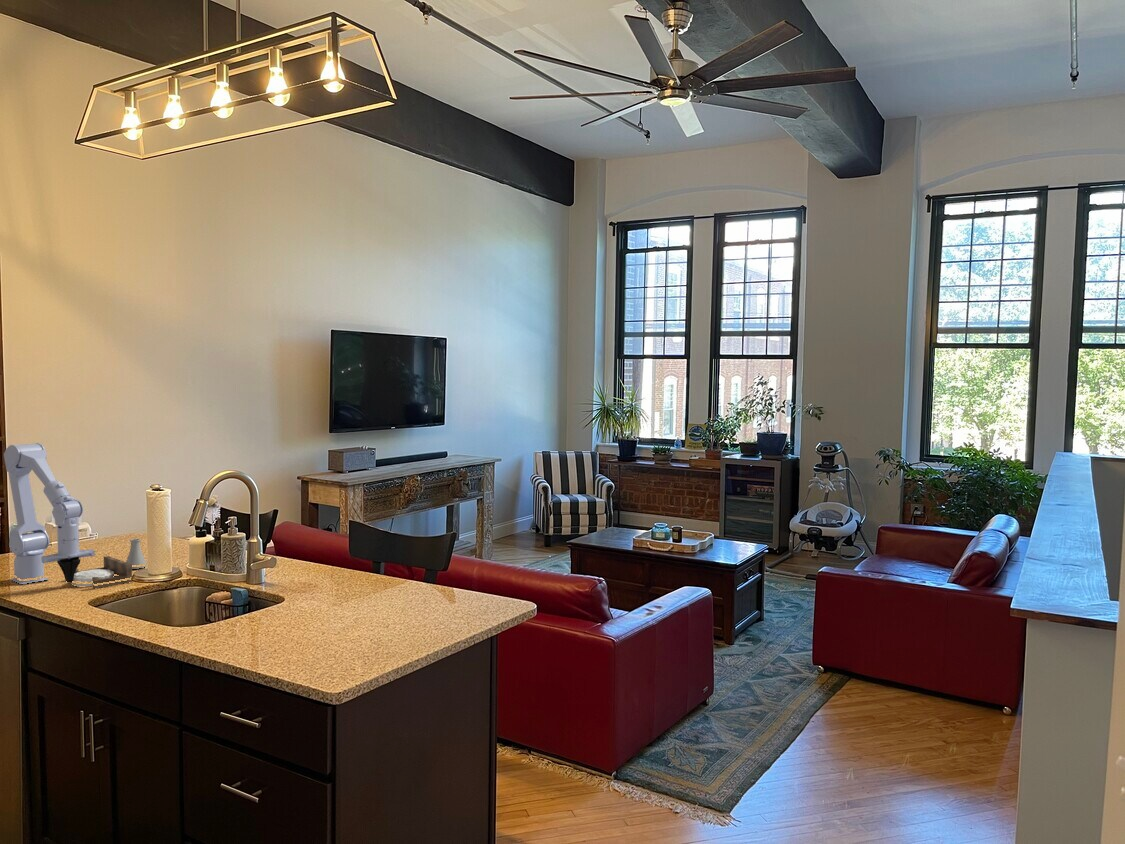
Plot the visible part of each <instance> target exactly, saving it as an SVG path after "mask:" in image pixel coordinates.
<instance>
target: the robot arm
mask: <svg viewBox="0 0 1125 844" xmlns="http://www.w3.org/2000/svg"><path fill="white" fill-rule="evenodd" d="M3 458H4V464H5V465H4V466H5V469H6V470H5V471H6V472H7V473H8V477H9V479H8V480H9V483H10V489H11V494H12V500H13V507H14V513H15V518H16V526H15V527H14V528H12V530H11V531H10V532H9V543H8V546H9V549H10V552H12V554H13V555H14V556H15V557H14V560H13V571H14V572H13V573H14V575H16V576H17V578H20V579H27V578H36V577H40V576H43V575H45V573H44V571H45V569H44V567H45V566H44V565H45V564H48V563H54V562H57V564H58V566H59V567H60V569H61V572H62V573H63V576H64V580H65V582H66V581H67V582H72V581H73V578H74V574H75V572H76V569H78V567H79V565H80V563H81V559H80V558H88V557H96V552H95V551H96V550H95V549H93V548H92V549H85V550H84V549H83V550H82V549H81V550H80V535H79V534H80V533H79V529H80V528H79V518H81V516H82V515H83V510H84V507H83V504H82V503H81V501H80V500H78V499H77V498H75V497H74V496H73V497H72V496H71V494H70V492H69V491H68V490H67V488H66V486H65V485H64V483H63V482H62V481H58V480H56V477H55V475H54V473H53V471H52V469H51V467H50V465H49V464H48V463H49V462H47V458H48V452H47V451H46V448H45V447H44V445H43V444H41V443H40V442H36V443H29V444H16V445H15V444H10V445H8V446H7V448H6V449H5V451H4V452H3ZM31 471H33V473H34V474H35V475H36V477H37V478H38V480H39V481H40V482H41V483H42V484H43V486H44V487H43V490H42V491H43V493H44V495H45V497H46V498H47V499H48V501H49V503H50V505H51V506H52V511H51V515H52V517H53V518H54V524H55V526H56V532H57V535H56V536H57V553H54V554H48V555H44V553H46V550H48V548H49V547H50V546H49V545H50V543H51V541H50V536H49V534H48V533H47V529H46V526H44V525H43V524H41V523H40V522H38V520H37V516H36V515H37V514H36V508H35V505H34V498H33V493H32V492H33V491H32V487H31V481H30V480H31V479H30V473H31ZM13 577H14V576H13ZM17 578H15V577H14V578H11V579H10V580H11V581H12V580H13V581H12V582H14V581H15V582H14V583H16V582H17V583H16V584H18V583H19V585H20V584H23V585H28V584H27V583H29V584H33V583H32V582H35V583H39V582H38V581H42V582H45V581H44V580H48V581H49V580H50V579H49V578H48V577H45V576H44V577H43V578H41V579H37V580H30V581H19V580H17Z"/></svg>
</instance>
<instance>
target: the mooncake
mask: <svg viewBox="0 0 1125 844" xmlns="http://www.w3.org/2000/svg"><path fill="white" fill-rule="evenodd" d="M92 569H93V570H90V569H86V570H87V571H83V570H80V571H81V572H77V573H76V574H74V578H73V581H81V582H85V581H87V582H91V581H92V577H99V579H104V578H110V577H113V576H114V572H113V571H111V570H103V569H96V568H92ZM71 584H73V585H76V586H93V583H92V584H76V583H70V585H71Z"/></svg>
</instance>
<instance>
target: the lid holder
mask: <svg viewBox="0 0 1125 844" xmlns="http://www.w3.org/2000/svg"><path fill="white" fill-rule="evenodd" d="M93 569H94V568H91V569H89V570H93ZM95 569H103V570H111V571H113V572H114V574H117V575H119V576H114V577H110V578H104V579H99V577H92V581H93V583H94V584H97V583H103V582H109V581H115V580H120V579H125V578H130V577H132V578H133V570H132V564H130V563H127V562H126V561H124V560H121V559H118V558H115V557H113V556H109V555H108V556H107V555H106V556H103V566H102V567H97V568H95ZM87 570H88V569H85V570H79V568H77V569H76V572H75V574H76V573H77V572H81V571H87ZM129 582H132V583H133V579H132V580H127V581H121V582H115V583H109V584H103V585H98V586H94V585H93V587H92V589H93V588H99V589H102V588H101V587H104V588H108V587H107V586H110V587H113V586H112V585H116V586H119V585H118V584H121V585H124V584H123V583H127V584H130V583H129Z"/></svg>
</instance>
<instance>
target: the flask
mask: <svg viewBox="0 0 1125 844" xmlns="http://www.w3.org/2000/svg"><path fill="white" fill-rule="evenodd" d="M141 541H142V539H141V538H131V539H129V543H130V548H129V549H130V551H129V553H128V556H127V559H126V561H125V562H127V563H130V564H132V565H140V564H145V563H147V560H146V559H145V556H144V554H143V551H142V548H141ZM147 565H148V563H147V564H146V565H145V566H141V567H132V569H139V568H143V567H146V566H147ZM147 567H148V566H147ZM147 567H146V568H147ZM143 569H144V568H143ZM139 570H140V569H139Z"/></svg>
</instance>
